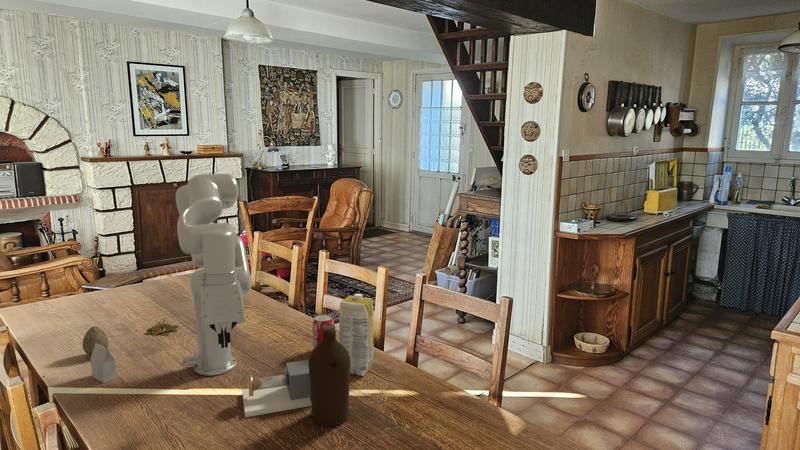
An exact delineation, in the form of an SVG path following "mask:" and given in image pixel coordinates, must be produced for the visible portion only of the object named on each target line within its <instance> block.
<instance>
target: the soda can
mask: <svg viewBox="0 0 800 450" xmlns="http://www.w3.org/2000/svg"><path fill="white" fill-rule="evenodd" d="M325 324H333V325H335V323H334V320H333V317H332V315H330V314H325V313H323V314H317V315H316V316H314V320H313V321H312V348H313V349H314V348H315V347H316V346H317V345H318V344H319V343H320V342H321V341H322V340H323V337H322V331H323V325H325ZM313 349H312V350H313Z"/></svg>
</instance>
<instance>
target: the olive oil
mask: <svg viewBox="0 0 800 450" xmlns="http://www.w3.org/2000/svg"><path fill="white" fill-rule="evenodd" d="M336 336H337V331H336V325H335V324H334V325H333V324H325V325H323V331H322V337H323V340H322V341H321V342H320V343H319V344H318V345H317V346H316V347H315V348H314V349H312V351H311V353H310V354H309V357H308V360H309V362H308V366H309V377H310V390H311V396H310V400H311V404H312V406H311V417H312V420H313V422H314V423H315V424H317V425H319V426H322V427H336V426H339V425H341V424H343V423H345V422H346V421H347V420H348V418H349V414H350V413H349V412H350V383H351V374H350V365H351V361H350V356H349V353H348V351H347V349H346V348H345V347H344V346H343V345H341V344H340V341H338V340H337V337H336Z"/></svg>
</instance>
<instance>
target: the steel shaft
mask: <svg viewBox="0 0 800 450" xmlns="http://www.w3.org/2000/svg"><path fill="white" fill-rule="evenodd" d="M288 385H289V374H281V375H280V374H279V375H271V376H267V377H260V378H253V374H248V375H247V387H248V388H247V389H249V397H250V396H253V391H256V390H262V389H269V388H275V387H281V386H288Z"/></svg>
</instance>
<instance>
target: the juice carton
mask: <svg viewBox="0 0 800 450" xmlns="http://www.w3.org/2000/svg"><path fill="white" fill-rule="evenodd" d="M338 314H339V317H338V318H339V319H338V321H339V343H340V344H341V345H343V346H344V347H345V348H346V349H347V351H348V353H349V356H350V361H351V365H350V375H355V376H361V377H364V376H366V374H367V373H368V372H369V371H370V370H371V368H372V366H373V362H374V305H373V299H372V298H370V297H366V298H365V297H363V294H362V293H355V294H353V295H347V296H346V297H345V298H344V299H342V300H341V301H340V303H339V311H338Z"/></svg>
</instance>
